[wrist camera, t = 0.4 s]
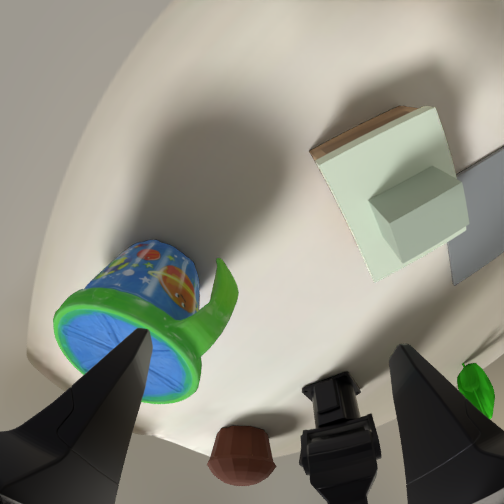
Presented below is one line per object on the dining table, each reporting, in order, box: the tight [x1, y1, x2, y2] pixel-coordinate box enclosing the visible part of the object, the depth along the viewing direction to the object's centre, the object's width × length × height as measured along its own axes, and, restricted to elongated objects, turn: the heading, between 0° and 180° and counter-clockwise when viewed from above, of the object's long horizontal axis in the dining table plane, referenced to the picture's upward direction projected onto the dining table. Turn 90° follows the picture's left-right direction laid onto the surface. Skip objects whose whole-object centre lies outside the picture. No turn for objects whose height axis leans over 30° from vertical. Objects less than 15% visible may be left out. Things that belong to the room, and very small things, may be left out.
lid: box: [315, 106, 469, 283], centre depth 15 cm, size 9×8×4 cm
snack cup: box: [53, 240, 239, 404], centre depth 20 cm, size 16×11×10 cm
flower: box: [457, 363, 495, 419], centre depth 20 cm, size 9×8×30 cm
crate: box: [309, 106, 419, 244], centre depth 18 cm, size 9×8×4 cm
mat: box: [447, 147, 504, 286], centre depth 20 cm, size 12×11×1 cm
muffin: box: [207, 426, 276, 486], centre depth 38 cm, size 12×11×10 cm
